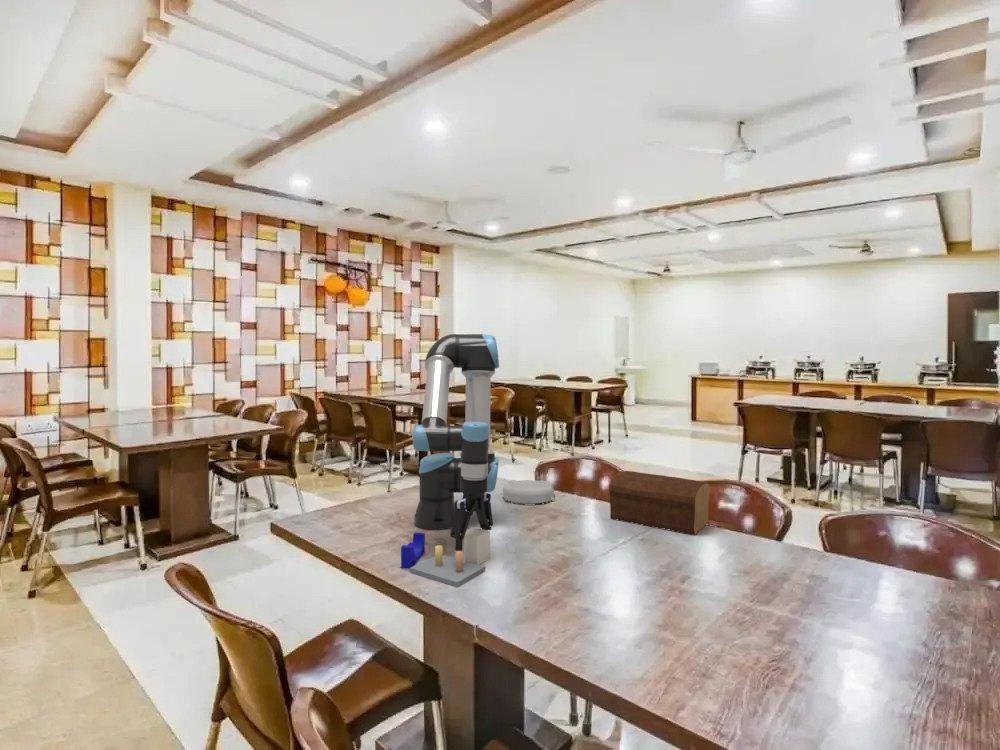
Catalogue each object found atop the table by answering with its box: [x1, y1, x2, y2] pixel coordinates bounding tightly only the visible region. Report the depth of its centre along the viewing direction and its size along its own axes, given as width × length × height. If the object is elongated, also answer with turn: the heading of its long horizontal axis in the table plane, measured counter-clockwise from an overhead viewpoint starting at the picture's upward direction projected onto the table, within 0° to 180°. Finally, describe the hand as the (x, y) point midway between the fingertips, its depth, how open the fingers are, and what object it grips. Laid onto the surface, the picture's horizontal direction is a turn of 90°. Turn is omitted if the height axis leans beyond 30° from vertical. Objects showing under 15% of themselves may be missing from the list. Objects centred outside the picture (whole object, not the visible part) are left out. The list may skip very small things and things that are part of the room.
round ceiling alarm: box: [502, 479, 555, 505], centre depth 224 cm, size 25×25×6 cm
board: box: [409, 544, 486, 588], centre depth 150 cm, size 12×16×6 cm
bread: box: [608, 470, 711, 536], centre depth 195 cm, size 18×30×16 cm, turn 54°
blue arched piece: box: [400, 532, 426, 570], centre depth 159 cm, size 12×4×6 cm, turn 171°
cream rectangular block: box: [460, 526, 491, 565], centre depth 159 cm, size 6×6×8 cm
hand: (471, 557), depth 158 cm, fingers open, 9 cm apart
